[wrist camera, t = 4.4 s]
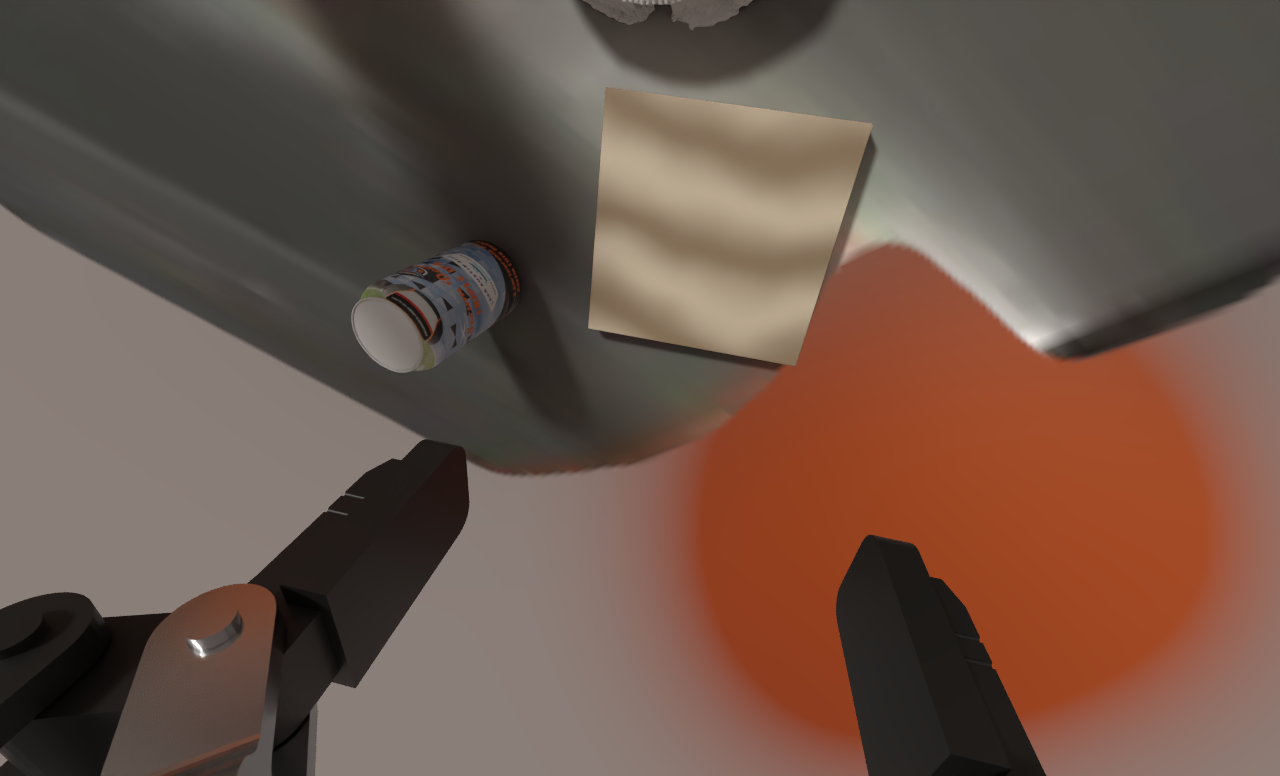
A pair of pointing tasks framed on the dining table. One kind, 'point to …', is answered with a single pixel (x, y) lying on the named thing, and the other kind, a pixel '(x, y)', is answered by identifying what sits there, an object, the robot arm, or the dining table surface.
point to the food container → (691, 3)
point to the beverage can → (436, 306)
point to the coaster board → (717, 221)
